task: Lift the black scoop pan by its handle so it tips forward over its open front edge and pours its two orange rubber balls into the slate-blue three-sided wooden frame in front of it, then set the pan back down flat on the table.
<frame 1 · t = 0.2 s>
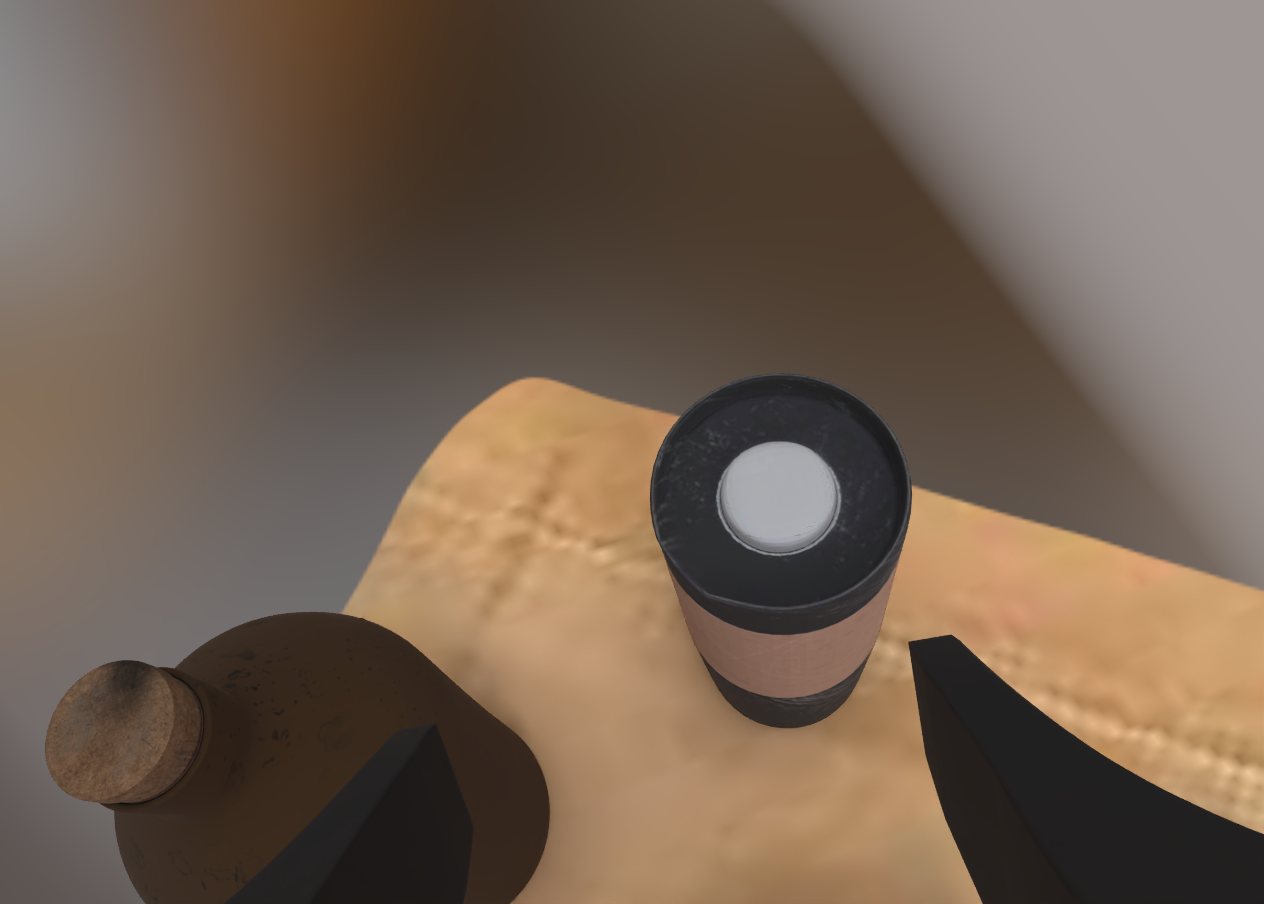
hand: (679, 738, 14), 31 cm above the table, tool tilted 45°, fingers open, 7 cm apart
olive oil: (453, 816, 45), on the table
travel mug: (784, 652, 46), on the table
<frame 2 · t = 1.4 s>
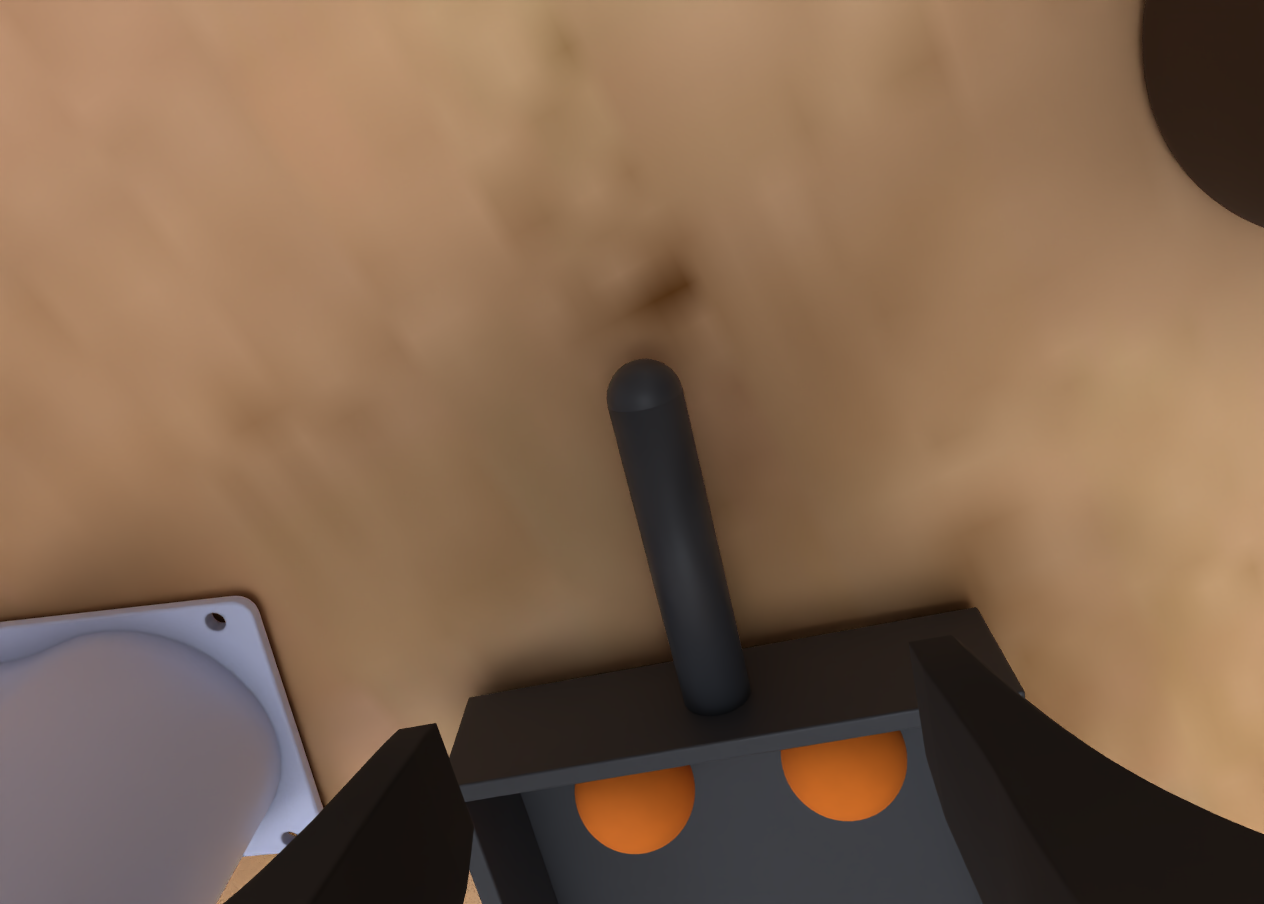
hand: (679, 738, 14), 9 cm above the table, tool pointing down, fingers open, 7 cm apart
ball b: (843, 755, 24), point 2 cm above the table, tilted 37°, touching scoop pan
ball a: (634, 789, 24), point 2 cm above the table, tilted 37°, touching scoop pan
scoop pan: (754, 812, 27), on the table, touching ball a, ball b
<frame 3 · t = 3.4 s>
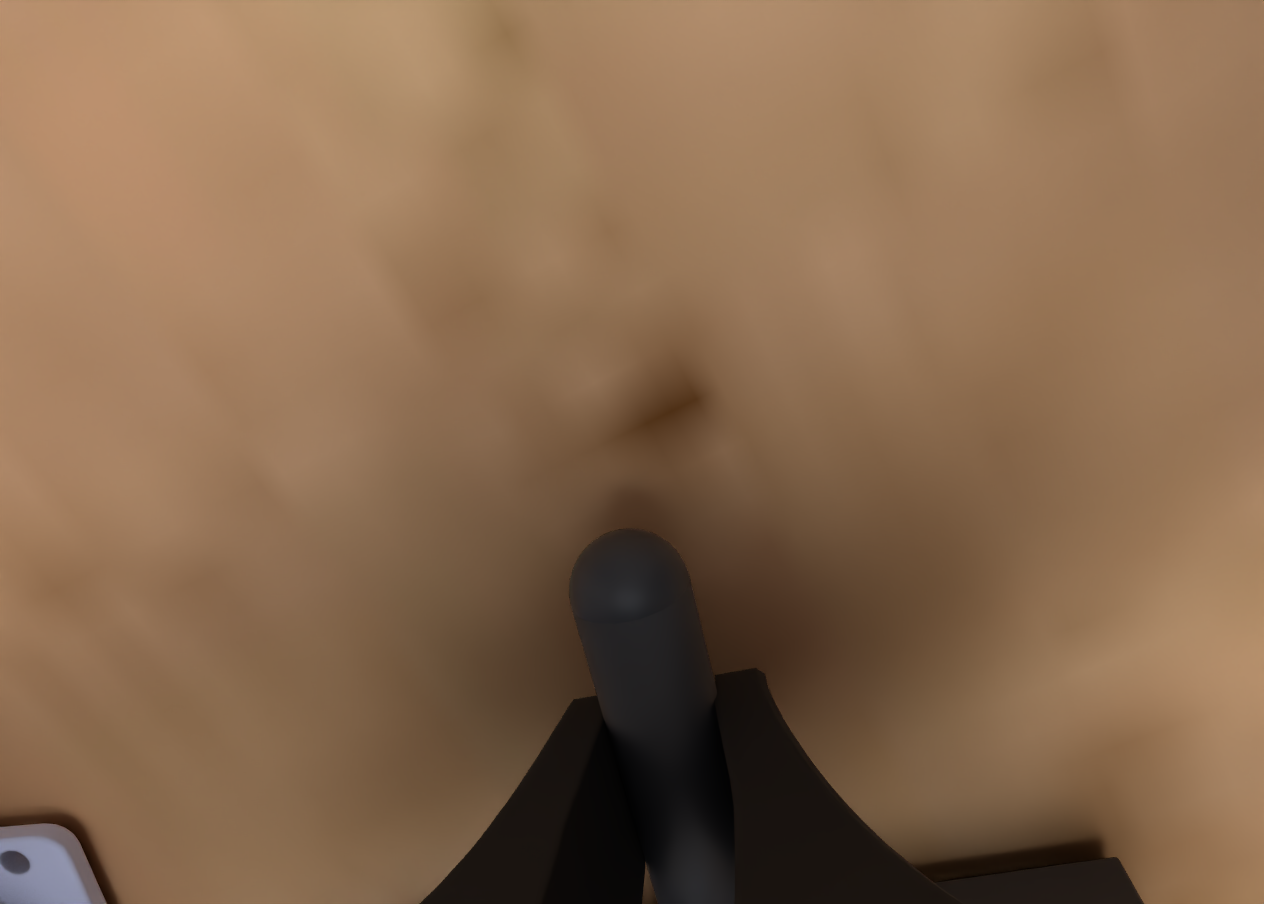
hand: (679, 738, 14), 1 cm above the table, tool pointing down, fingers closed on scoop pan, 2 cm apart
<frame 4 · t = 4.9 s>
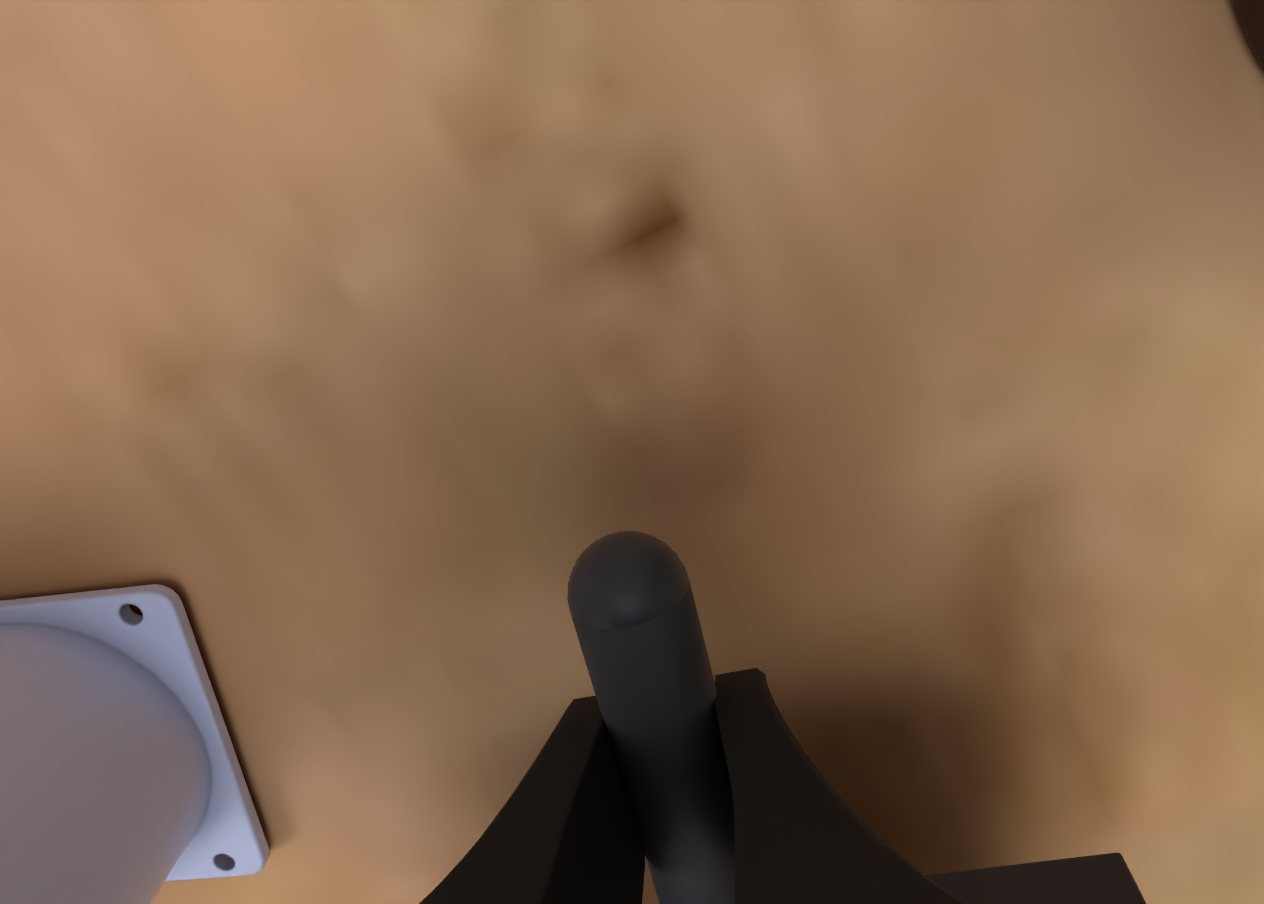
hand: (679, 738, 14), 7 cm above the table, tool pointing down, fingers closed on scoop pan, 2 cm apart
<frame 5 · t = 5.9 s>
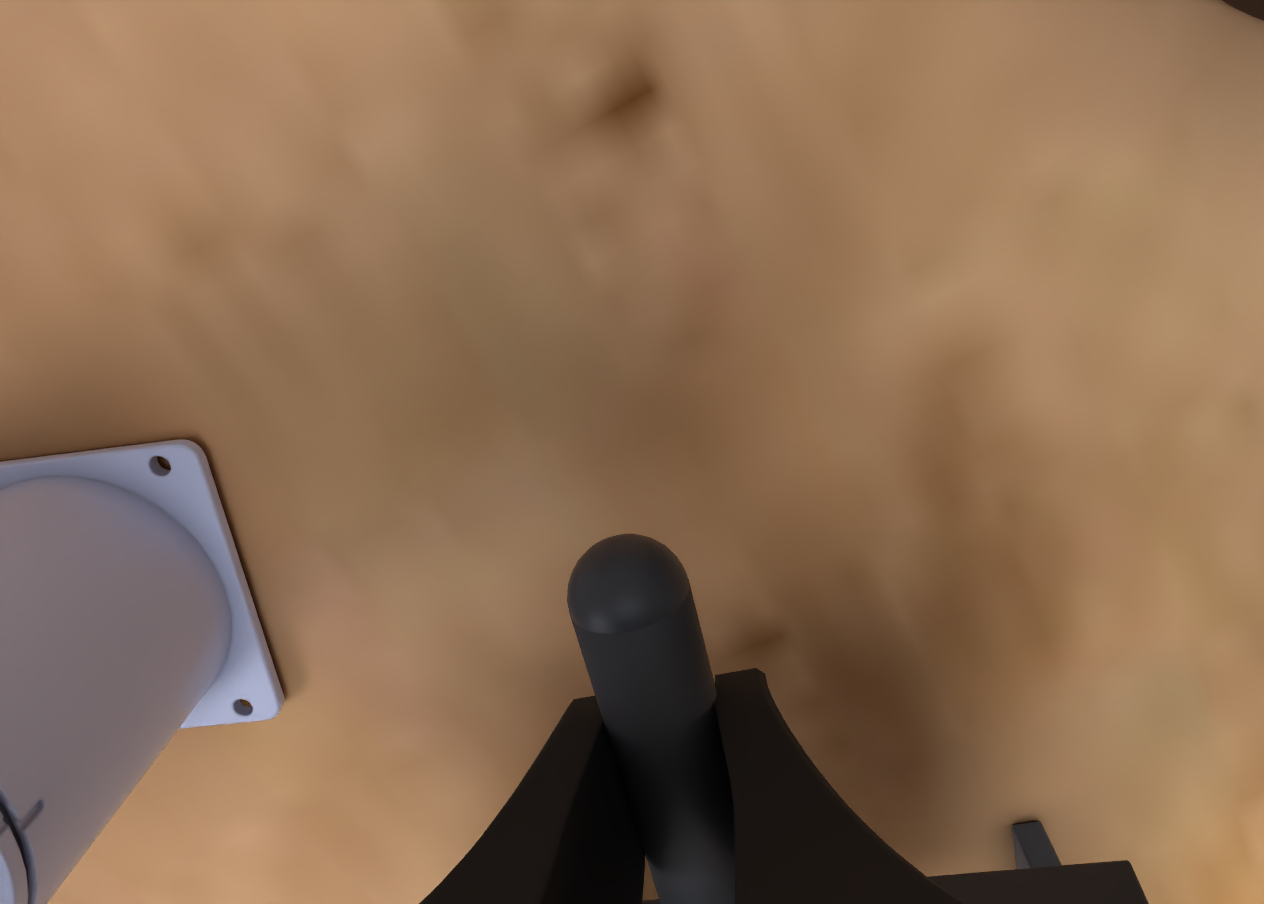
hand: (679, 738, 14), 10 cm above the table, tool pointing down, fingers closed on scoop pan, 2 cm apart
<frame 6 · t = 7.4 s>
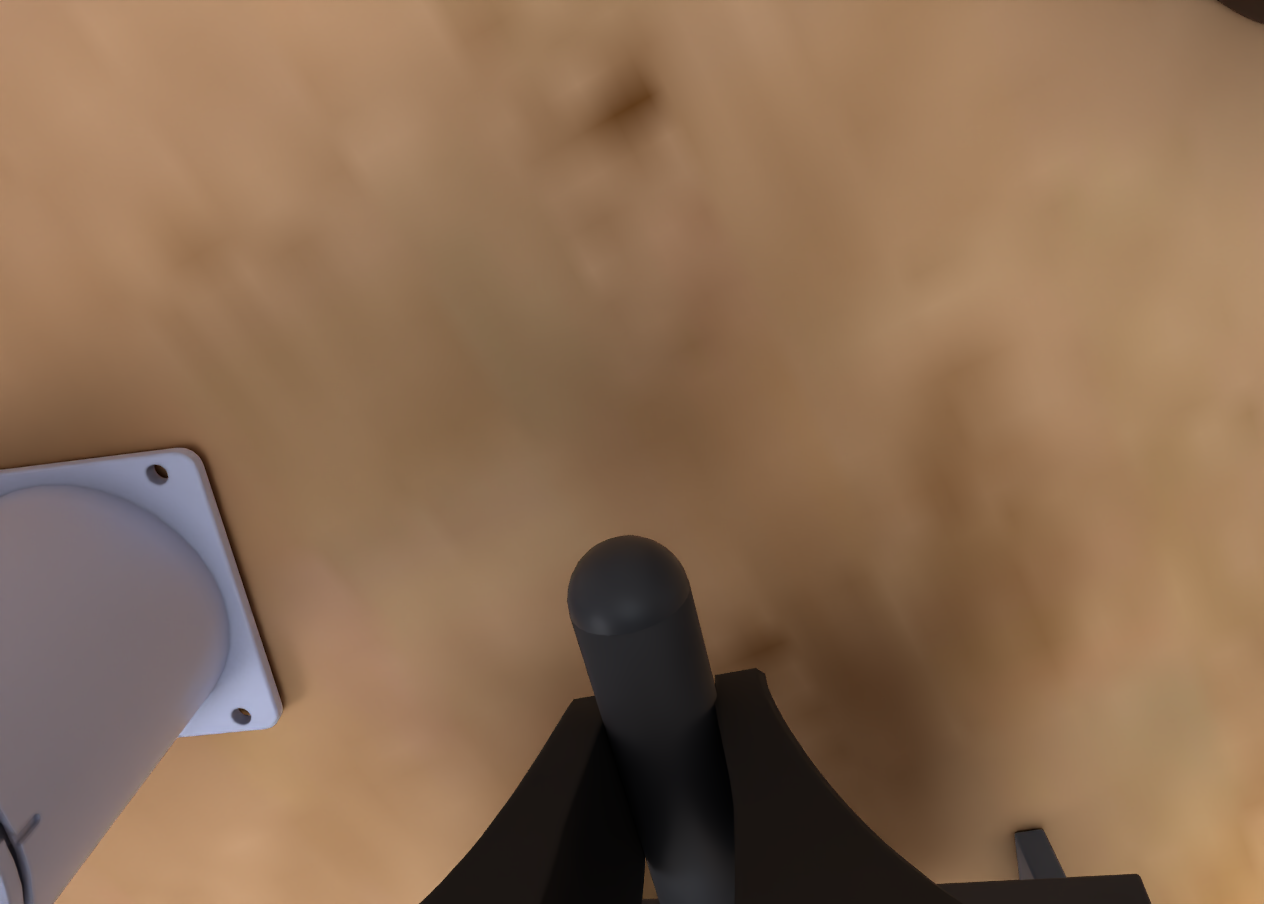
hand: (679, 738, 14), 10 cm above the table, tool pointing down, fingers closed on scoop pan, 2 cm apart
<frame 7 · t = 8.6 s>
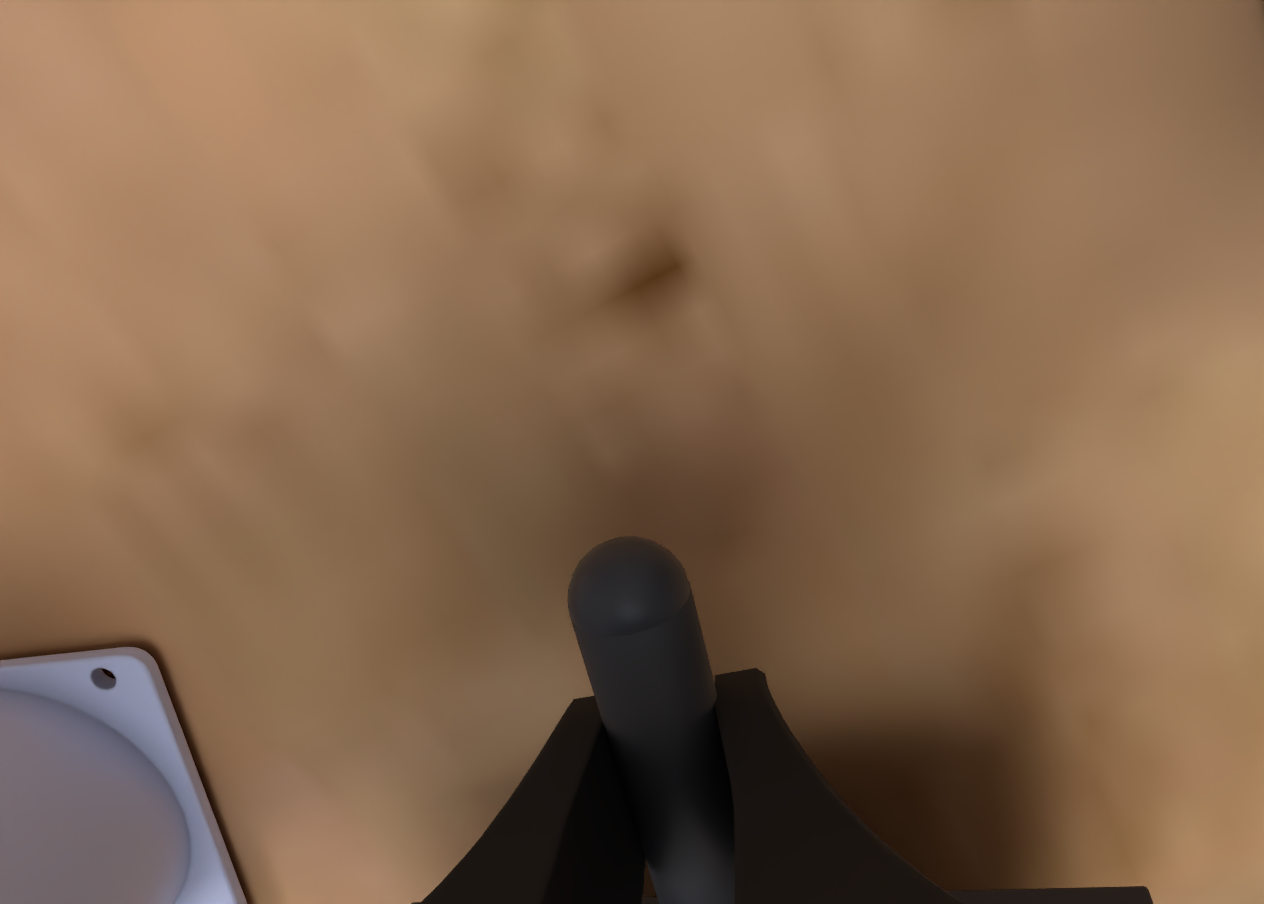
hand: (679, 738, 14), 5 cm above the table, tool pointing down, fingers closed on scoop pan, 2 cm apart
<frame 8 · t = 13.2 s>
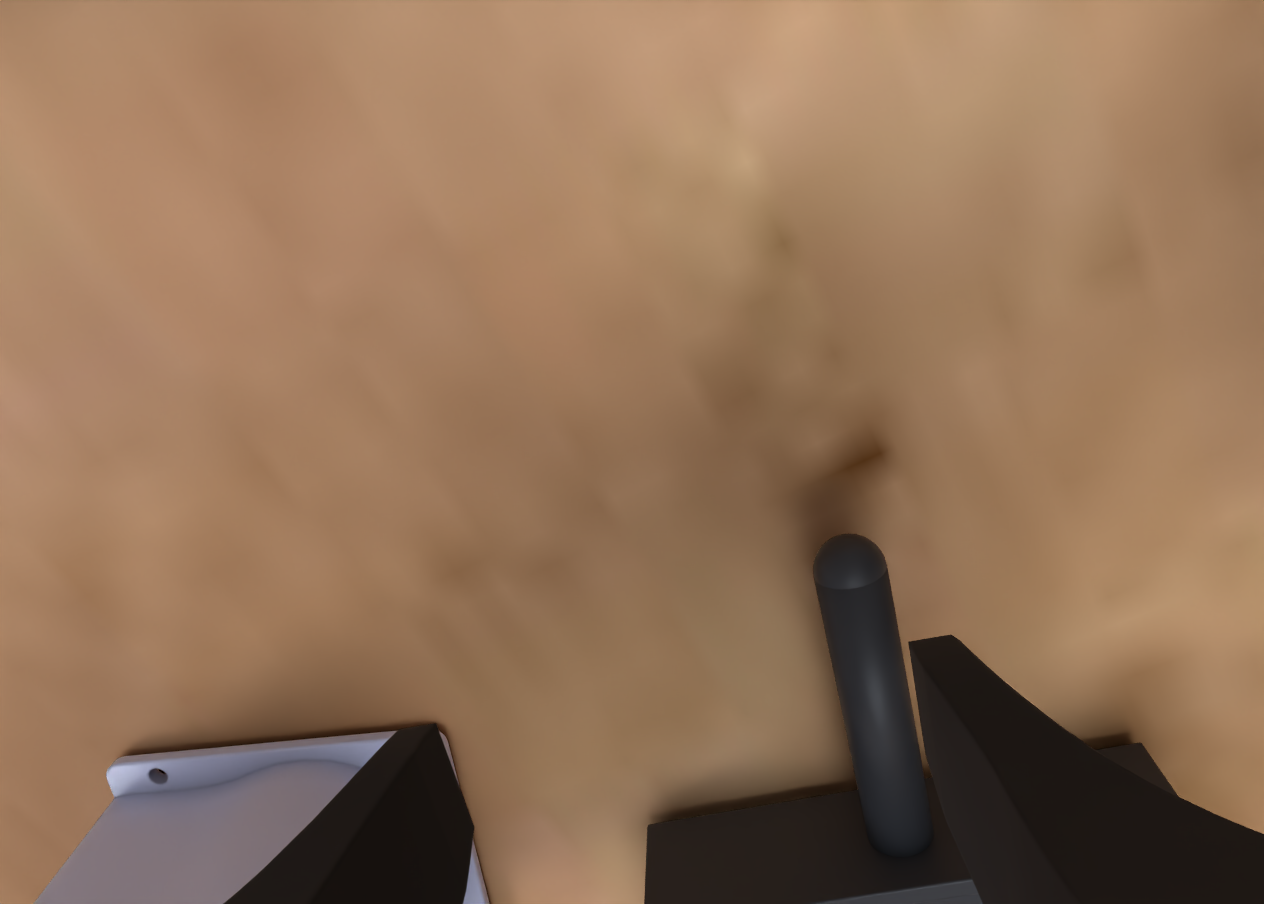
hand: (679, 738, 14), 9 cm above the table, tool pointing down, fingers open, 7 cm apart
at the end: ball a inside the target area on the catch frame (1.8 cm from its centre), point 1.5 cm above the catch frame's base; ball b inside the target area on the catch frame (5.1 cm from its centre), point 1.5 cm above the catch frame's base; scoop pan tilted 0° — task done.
